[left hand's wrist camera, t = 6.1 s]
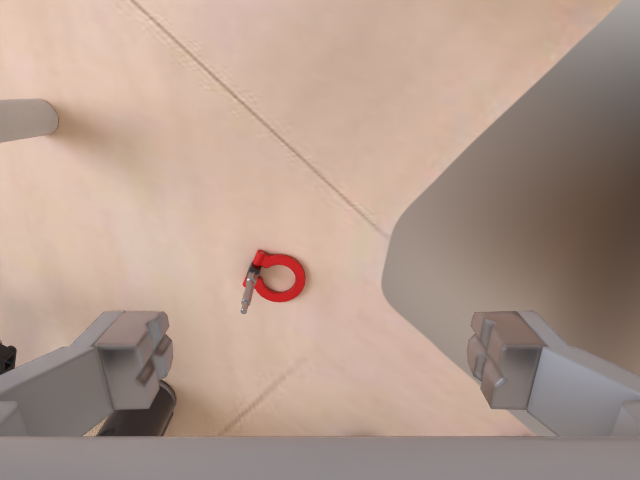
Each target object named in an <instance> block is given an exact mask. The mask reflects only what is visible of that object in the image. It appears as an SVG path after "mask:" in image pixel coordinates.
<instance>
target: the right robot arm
mask: <svg viewBox="0 0 640 480" xmlns="http://www.w3.org/2000/svg"><path fill="white" fill-rule="evenodd" d="M15 360H16V348H15V347H13V346H8V347H6V346H4V345H2V341H1V340H0V375H2V374H4V373H6V372H8V371H10V370H13V369H15ZM158 383H159V388H160V389H159V391H158V393H157V395H156V396H155V398H154V400H153V402H152V404H151V406H150V407H149V409H125V410H113V412H112V413H111V414H110V415H109V416H108V418H107V420H106V421H105V423H104V424H103V426H102V427H101V429H100V430H99V432H98V434H97V435H96V436H164V433H165V431H166V429H167V427H168V425H169V422H170V420H171V418H172V416H173V409H174V407H175V404H176V397H175V394H174V392H173V390H172V389H171V388H170V387H169V386H168V385H167V384H165V383H164V382H162V381H158Z"/></svg>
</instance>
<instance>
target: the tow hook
mask: <svg viewBox="0 0 640 480" xmlns="http://www.w3.org/2000/svg"><path fill="white" fill-rule="evenodd" d="M273 265H284V266H287V267H289V268H290V269H291V270H292V271H293V272H294V274H295V277H296V282H295V284H294V286H293V287H292V288H291V289H289V290H288V291H285V292H274V291H271V290H269V289H268V288H267V287H266V286H265V285H264V283H263V279H262V278H261V277H258V275H259V273H260V269H261V266H262V267H265V268H269V267H270V266H273ZM304 285H305V273H304V270H303V268H302V266H301V265H300V264H299V262H298V261H296V260H295V259H293V258H292V257H289V256H286V255H280V254H277V255H271V256H270V255H268V254H266V253H265V252H264V251H262V250H258V251H257V254H256V256H255V258H254V260H253V262H252V263H251V266H250V268H249V270H248V272H247V276H246V278H245V280H244V282H243V286H244V287H246V288H245V292H244V295H243V299H242V309H241V313H242V314H246V313H247V309H248V306H249V305H250V303H251V298H252V294H253V290H254V288H255V289H256V291H257V292H258V293H259V294H260V295H261V296H262V297H264V298H265V299H267V300H270V301H273V302H286V301H289V300H292V299H293V298H295V297H296V296H298V295H299V294H300V292H301V291H302V289H303V287H304Z"/></svg>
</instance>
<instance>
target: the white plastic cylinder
mask: <svg viewBox="0 0 640 480" xmlns="http://www.w3.org/2000/svg"><path fill="white" fill-rule="evenodd" d="M57 127H58V116H57V113H56V111H55V110H54V108H53V107H52V106H51V105H50V104H49V103H47V102H46V101H44V100H41V99H14V100H0V143H2V142H7V141H13V140H19V139H25V138H31V137H37V136H43V135H49V134H51V133H53V132H54V131H55V130H56V129H57Z"/></svg>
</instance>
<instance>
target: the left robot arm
mask: <svg viewBox="0 0 640 480" xmlns="http://www.w3.org/2000/svg"><path fill="white" fill-rule="evenodd" d="M168 327H169V322H168V317H167V314H166V313H165V312H160V311H105V312H103V313H102V314H101V315H100V316H99V317H98V318H97V319H96V320H95V321H94V322H93V323H92V324H91V325H90V326H89V327H88V328H87V329H86V330H85V331H84V332H83V333H82V334H81V335H80V336H79V337H78V338H77V339H76V340H75V341H74V342H73V343H72V344H71V345H70V346H69V347H61V348H59V349H57V350H55V351H53V352H50V353H48V354H46V355H44V356H42V357H39V358H37V359H35V360H33V361H30V362H28V363H26V364H24V365H22V366H19V367H17V368H15V369H13V370H10V371H8V372H6V373H4V374H2V375H0V480H640V375H638V374H636V373H634V372H632V371H629V370H627V369H625V368H623V367H620V366H618V365H616V364H614V363H612V362H609V361H607V360H605V359H603V358H601V357H598V356H596V355H594V354H592V353H590V352H587V351H585V350H583V349H581V348H578V347H571V346H570V345H569V344H568V343H567V342H566V341H565V340H564V339H563V338H562V337H561V336H560V335H559V334H558V333H557V332H556V331H555V330H554V329H553V328H552V327H551V326H550V325H549V324H548V323H547V322H546V321H545V320H544V319H543V318H542V317H541V316H540V315H539V314H538V313H537V312H535V311H532V310H530V311H501V312H475V313H474V315H473V317H472V321H471V327H472V329H473V331H474V332H475V334H474V335H473V336H472V337H471V338H470V339H469V340H468V346H467V359H468V364H469V367H470V370H471V372H472V374H473V376H474V377H476V378H477V379H479V380H480V381H482V383H481V388H480V389H481V391H482V393H483V395H484V396H485V398H486V400H487V402H488V404H489V406H490V407H491V409H515V410H527V412H528V413H529V414H530V415H532V416H533V417H534V418H536V419H537V420H538V421H539V422H541V423H542V424H543V425H544V426H546V427H547V428H548V429H549V430H551V431H552V432H553V433H554V434H556V435H557V436H83V435H84V434H86V433H87V432H88V431H90V430H91V429H92V428H93V427H95V426H96V425H97V424H98V423H100V422H101V421H102V420H103V419H105V418H106V417H107V416H108V415H110V414H111V413H112V412H113V410H125V409H149V407H150V406H151V404H152V402H153V400H154V398H155V396H156V395H157V393H158V391H159V389H160V388H159V383H158V381H160V380H161V379H163V378H164V377H166V376H167V374H168V372H169V370H170V368H171V363H172V359H173V345H172V340H171V339H170V338H169V337H168V336H167V335H166V334H165V332H166V331H167V329H168Z"/></svg>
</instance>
